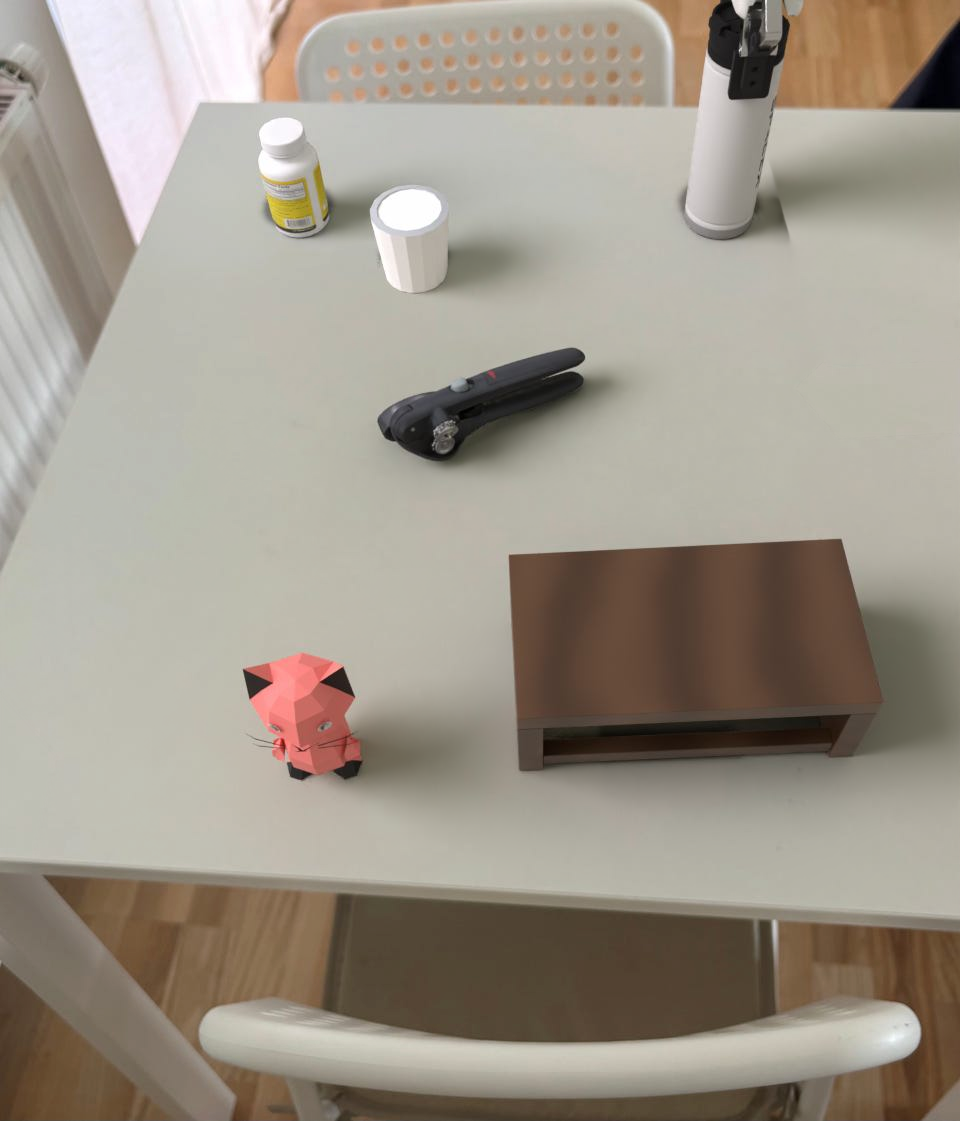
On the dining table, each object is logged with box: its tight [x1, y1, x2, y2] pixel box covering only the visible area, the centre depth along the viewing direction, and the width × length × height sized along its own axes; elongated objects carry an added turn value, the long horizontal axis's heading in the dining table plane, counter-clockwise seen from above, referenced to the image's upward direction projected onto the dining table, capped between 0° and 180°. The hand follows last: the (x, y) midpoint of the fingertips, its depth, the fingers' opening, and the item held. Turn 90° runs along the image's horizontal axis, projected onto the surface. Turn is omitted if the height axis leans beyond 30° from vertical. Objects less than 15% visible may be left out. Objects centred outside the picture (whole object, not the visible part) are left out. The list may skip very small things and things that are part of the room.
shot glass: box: [369, 184, 450, 294], centre depth 98 cm, size 7×7×7 cm
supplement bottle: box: [258, 117, 330, 238], centre depth 101 cm, size 5×5×10 cm
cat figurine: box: [242, 652, 363, 781], centre depth 69 cm, size 7×7×12 cm
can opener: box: [376, 347, 586, 462], centre depth 88 cm, size 18×7×6 cm, turn 115°
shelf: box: [508, 538, 884, 772], centre depth 73 cm, size 22×12×8 cm, turn 92°
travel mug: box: [683, 0, 791, 240], centre depth 94 cm, size 6×7×20 cm
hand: (740, 69), depth 90 cm, fingers closed on travel mug, 6 cm apart
